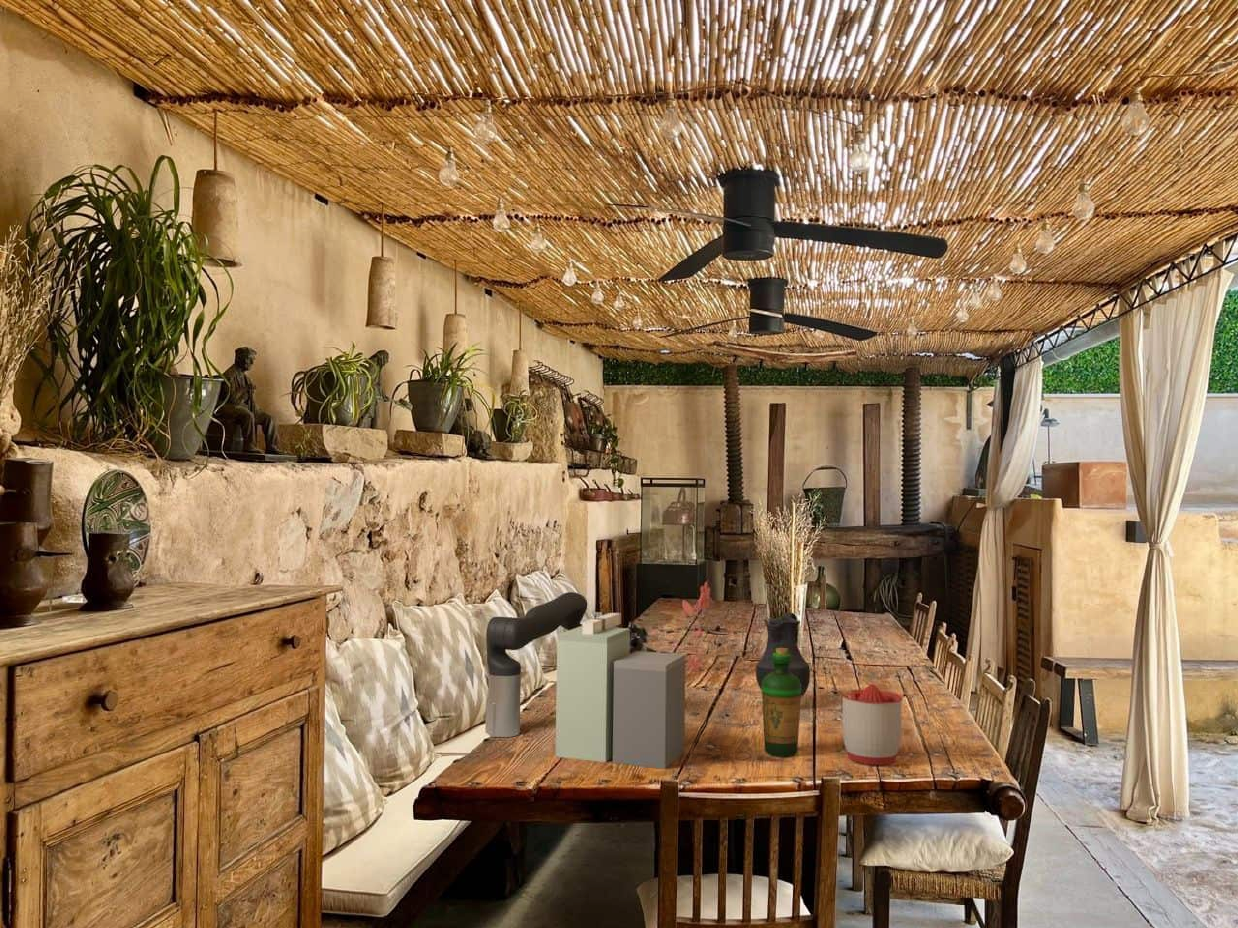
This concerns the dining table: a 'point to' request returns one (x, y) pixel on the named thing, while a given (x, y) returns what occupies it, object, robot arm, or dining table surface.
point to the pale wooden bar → (601, 623)
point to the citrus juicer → (871, 725)
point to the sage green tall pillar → (587, 692)
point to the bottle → (781, 707)
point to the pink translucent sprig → (688, 609)
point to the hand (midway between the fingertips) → (615, 623)
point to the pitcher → (783, 636)
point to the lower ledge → (649, 709)
